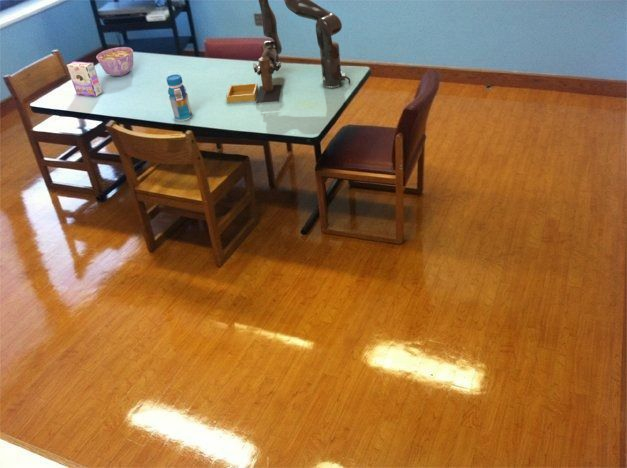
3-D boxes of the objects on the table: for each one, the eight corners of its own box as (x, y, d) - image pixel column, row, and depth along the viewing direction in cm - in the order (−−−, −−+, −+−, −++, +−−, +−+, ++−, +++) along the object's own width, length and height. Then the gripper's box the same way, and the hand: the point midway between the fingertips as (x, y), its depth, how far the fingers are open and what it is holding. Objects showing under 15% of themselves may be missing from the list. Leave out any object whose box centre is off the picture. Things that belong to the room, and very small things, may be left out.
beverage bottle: (171, 120, 280) (160, 80, 268) (180, 112, 286) (170, 72, 274) (186, 122, 277) (176, 81, 265) (195, 114, 283) (186, 73, 271)
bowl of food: (133, 78, 328) (127, 58, 321) (98, 82, 329) (91, 61, 323) (142, 65, 344) (136, 45, 337) (108, 68, 346) (102, 48, 339)
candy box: (103, 92, 316) (93, 62, 307) (96, 97, 312) (85, 66, 302) (83, 90, 322) (73, 60, 312) (76, 94, 318) (65, 64, 308)
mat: (282, 85, 301) (281, 84, 301) (278, 102, 285) (278, 101, 285) (260, 87, 302) (260, 86, 302) (256, 104, 286) (255, 103, 286)
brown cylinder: (273, 85, 294) (269, 56, 285) (273, 90, 289) (268, 60, 280) (263, 86, 294) (258, 57, 285) (262, 91, 290) (257, 61, 281)
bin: (258, 89, 299) (257, 83, 297) (255, 101, 288) (254, 94, 286) (231, 91, 300) (230, 85, 298) (227, 103, 290) (226, 96, 288)
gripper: (253, 53, 296) (248, 66, 283) (281, 51, 295) (279, 64, 281) (255, 68, 300) (251, 81, 287) (283, 65, 299) (281, 79, 286)
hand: (265, 73), depth 284 cm, fingers closed on brown cylinder, 5 cm apart
